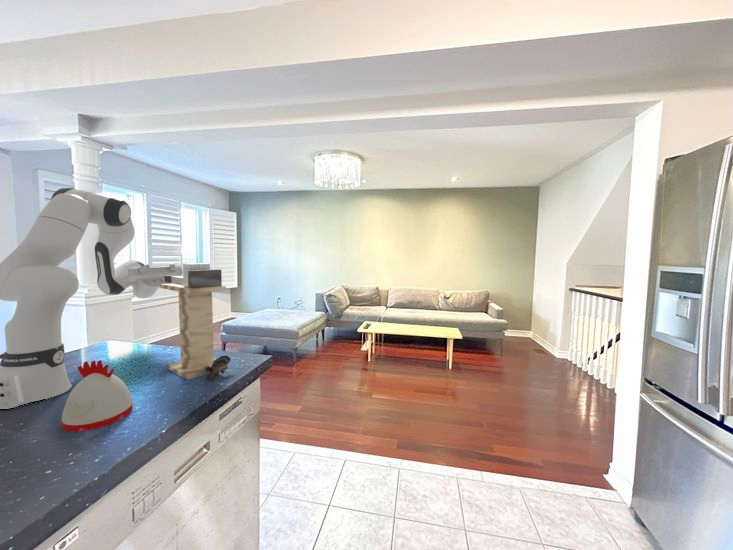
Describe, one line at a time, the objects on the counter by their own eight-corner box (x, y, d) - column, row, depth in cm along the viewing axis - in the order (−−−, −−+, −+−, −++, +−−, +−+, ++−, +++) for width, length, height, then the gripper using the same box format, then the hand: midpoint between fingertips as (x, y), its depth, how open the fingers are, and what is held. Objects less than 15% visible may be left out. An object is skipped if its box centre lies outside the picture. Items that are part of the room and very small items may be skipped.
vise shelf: (160, 365, 114) (156, 268, 111) (198, 355, 125) (195, 267, 123) (190, 381, 100) (187, 271, 97) (230, 368, 112) (228, 269, 109)
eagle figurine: (227, 377, 101) (235, 362, 110) (213, 361, 99) (223, 348, 108) (208, 388, 102) (218, 373, 110) (194, 373, 100) (205, 359, 108)
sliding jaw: (158, 282, 119) (157, 262, 119) (177, 281, 125) (176, 261, 124) (190, 287, 104) (189, 264, 103) (210, 285, 110) (209, 263, 109)
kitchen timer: (91, 404, 85) (89, 352, 84) (144, 402, 86) (141, 351, 85) (45, 433, 71) (40, 372, 70) (108, 430, 73) (104, 370, 72)
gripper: (120, 274, 127) (128, 259, 119) (174, 271, 143) (184, 258, 135) (123, 287, 126) (131, 273, 118) (177, 283, 142) (188, 270, 134)
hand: (160, 265), depth 126 cm, fingers open, 8 cm apart
